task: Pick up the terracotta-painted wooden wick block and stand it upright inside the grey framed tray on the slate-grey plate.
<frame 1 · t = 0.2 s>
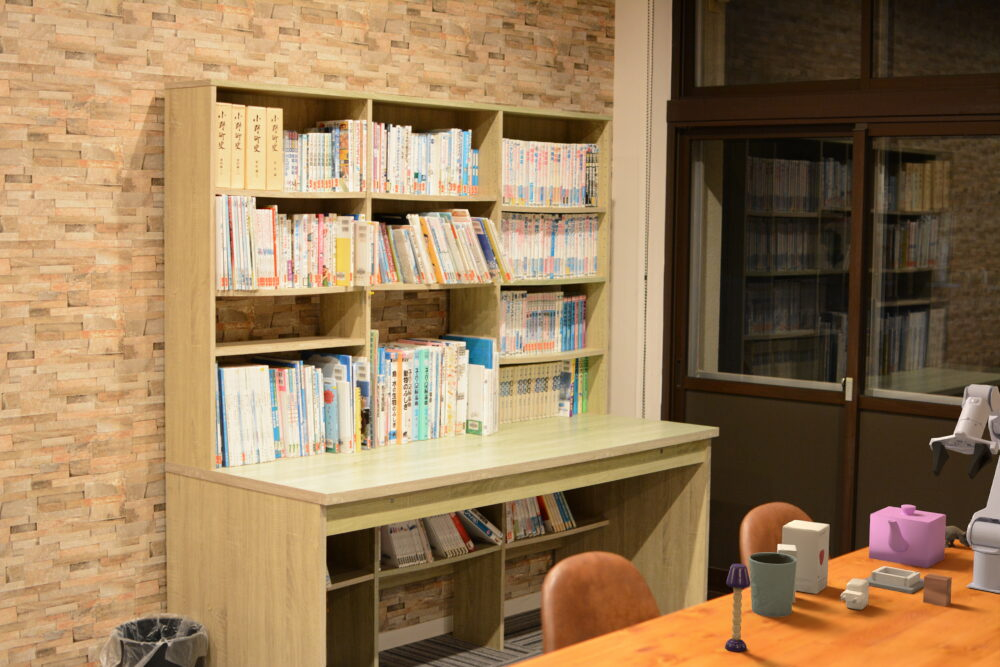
hand: (953, 475, 257), 31 cm above the table, tool tilted 45°, fingers open, 7 cm apart
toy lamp: (736, 648, 234), on the table
grey framed tray: (895, 583, 282), on the table
power adapter: (853, 610, 261), on the table
skincare box: (785, 599, 268), on the table
rhino figurine: (949, 547, 320), on the table
supplement box: (804, 588, 278), on the table
grey-green tapered cup: (771, 612, 258), on the table
wick block: (936, 602, 267), on the table
pink knobbed box: (905, 560, 306), on the table
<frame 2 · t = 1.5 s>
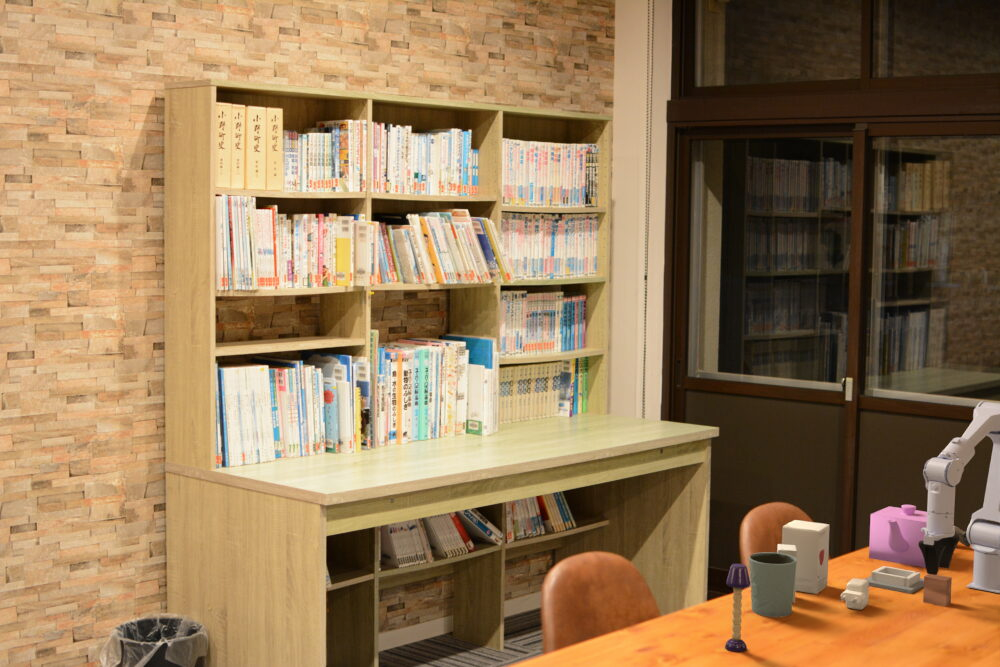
hand: (938, 570, 267), 7 cm above the table, tool pointing down, fingers open, 7 cm apart
nothing on the table moved.
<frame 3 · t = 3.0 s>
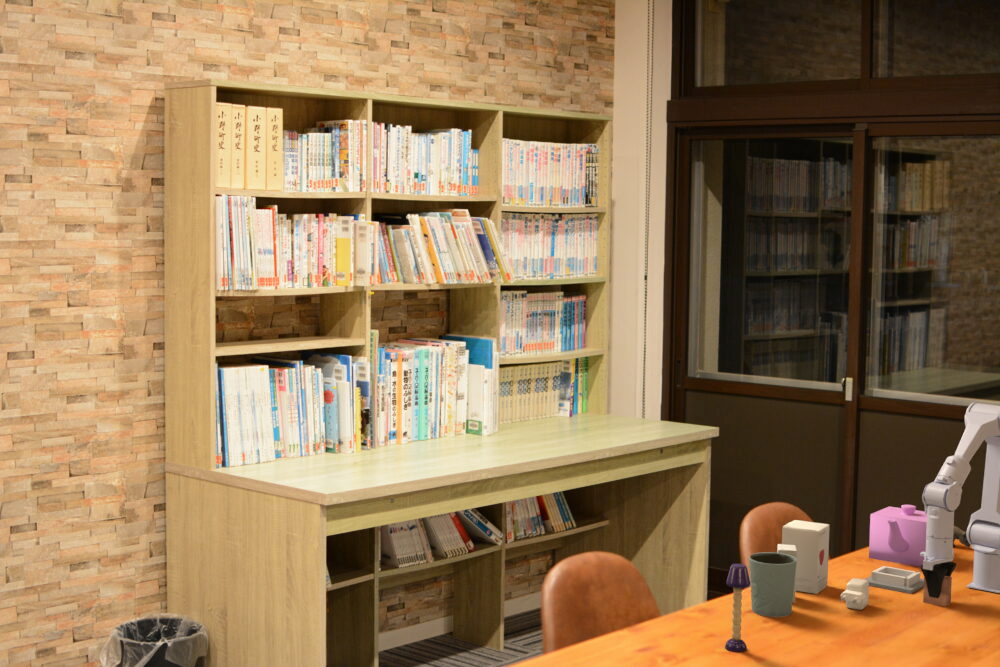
hand: (937, 595, 267), 2 cm above the table, tool pointing down, fingers closed on wick block, 3 cm apart
wick block: (936, 602, 267), on the table, touching gripper
everything else where it was.
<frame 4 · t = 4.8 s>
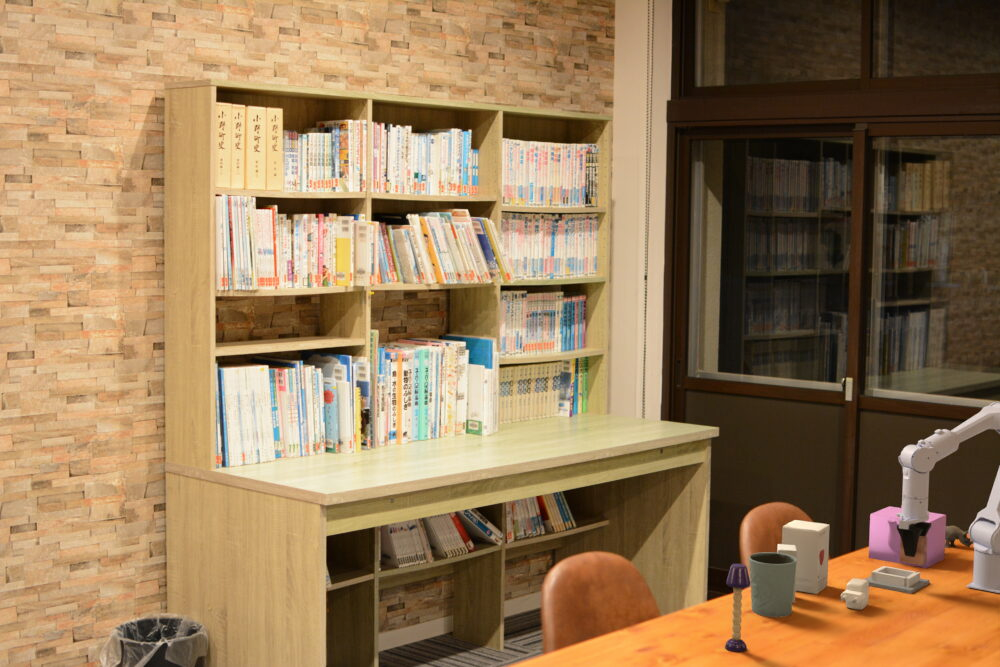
hand: (912, 554, 276), 9 cm above the table, tool pointing down, fingers closed on wick block, 3 cm apart
wick block: (913, 562, 276), point 7 cm above the table, touching gripper
everything else where it was.
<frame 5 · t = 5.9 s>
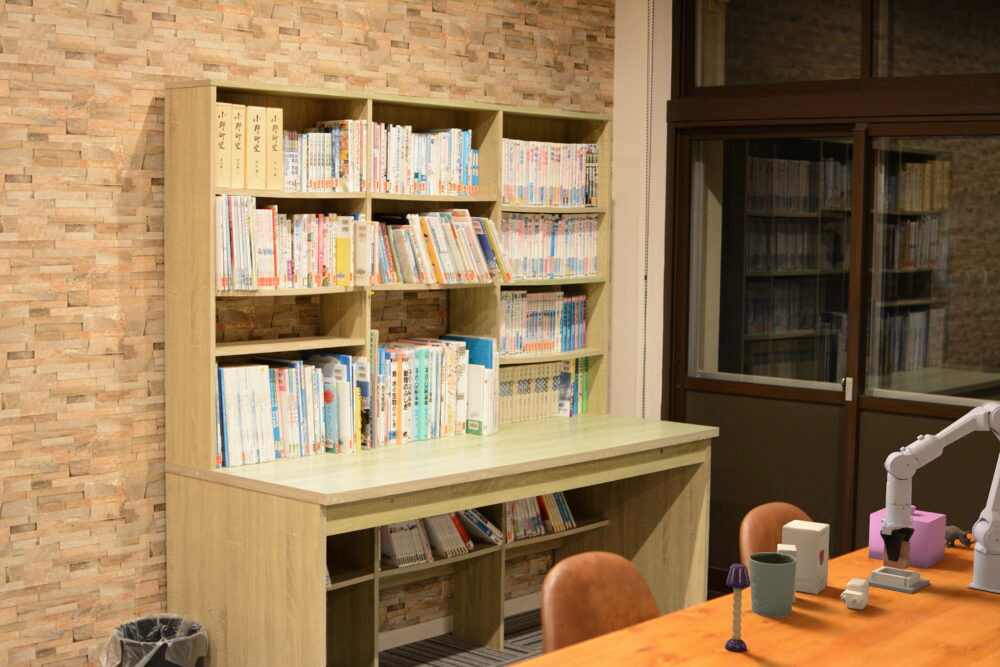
hand: (896, 559, 282), 6 cm above the table, tool pointing down, fingers closed on wick block, 3 cm apart
wick block: (896, 566, 282), point 4 cm above the table, touching gripper
everything else where it was.
when the fingers open (4 cm above the table, at t = 6.7 s): wick block drops 2 cm, resting on grey framed tray.
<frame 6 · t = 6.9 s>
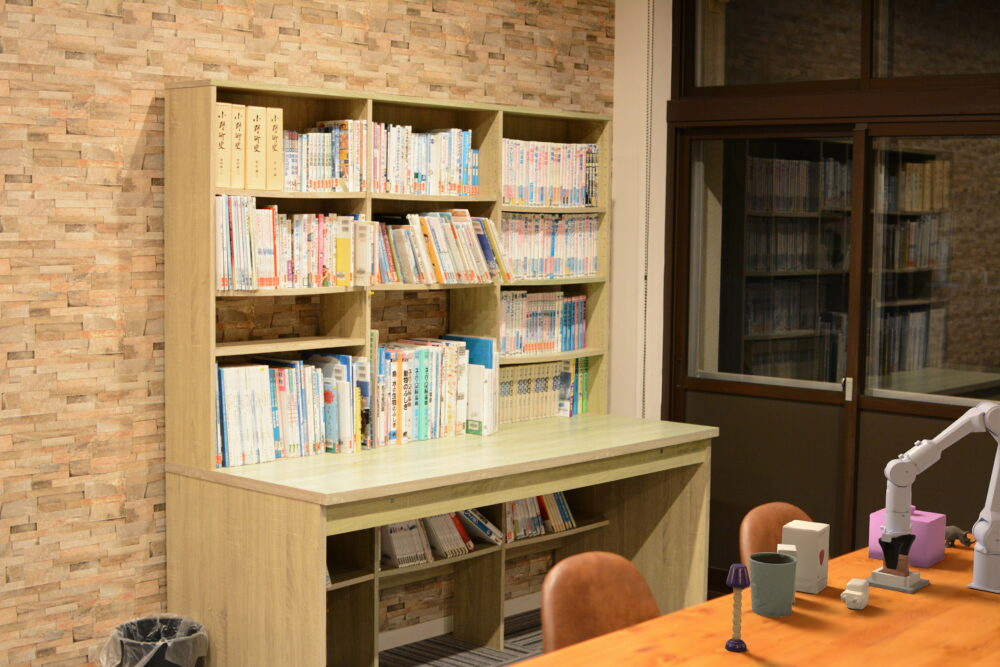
hand: (896, 566, 282), 4 cm above the table, tool pointing down, fingers open, 5 cm apart
wick block: (895, 580, 282), point 1 cm above the table, touching grey framed tray
everything else where it was.
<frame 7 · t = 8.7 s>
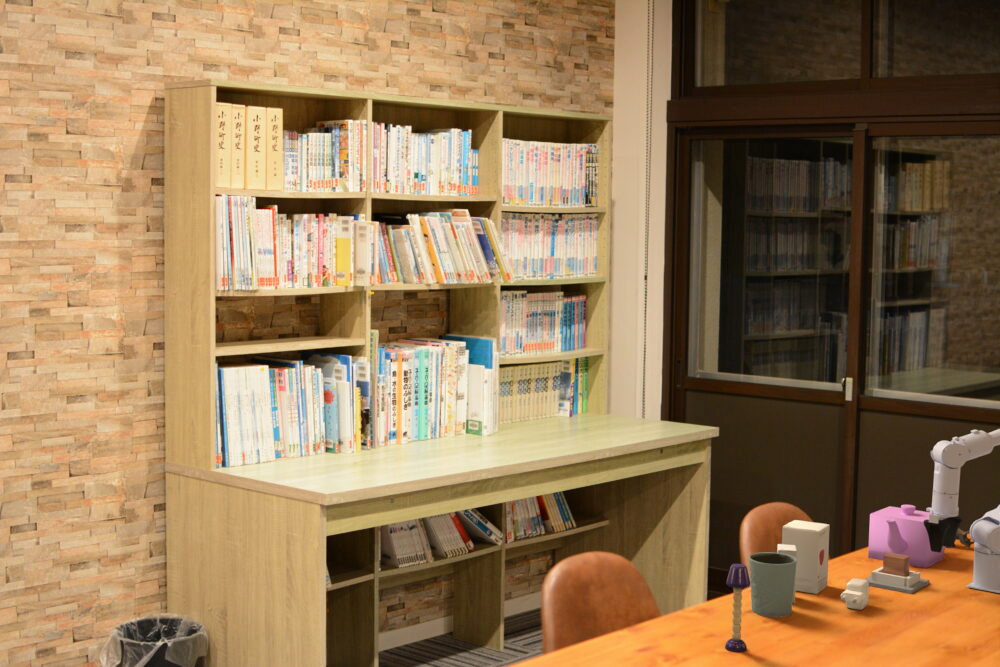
hand: (941, 549, 278), 9 cm above the table, tool pointing down, fingers open, 7 cm apart
nothing on the table moved.
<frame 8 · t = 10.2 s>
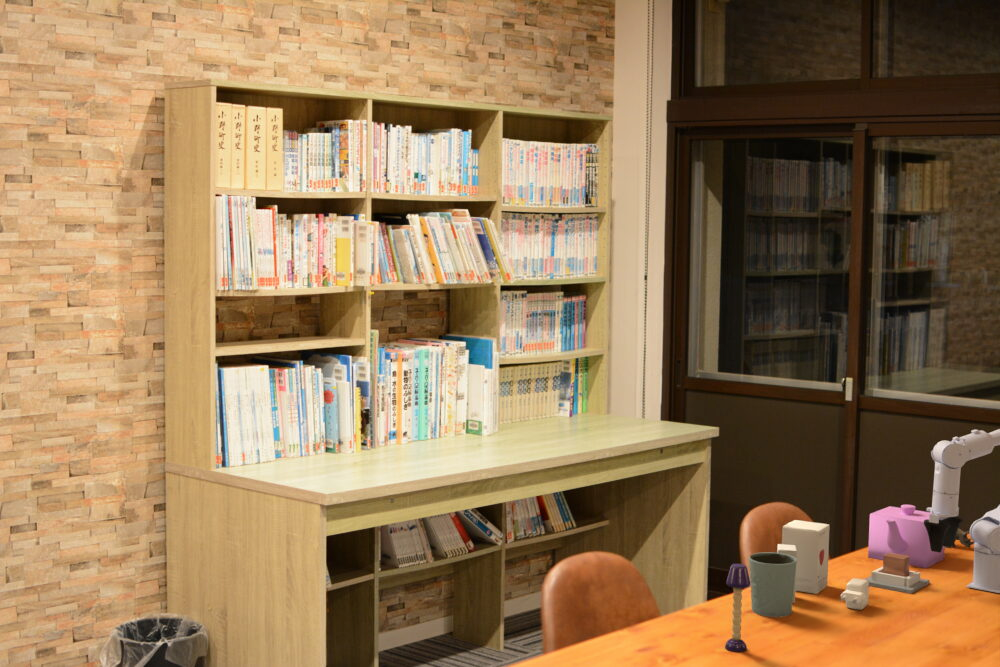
hand: (941, 549, 278), 9 cm above the table, tool pointing down, fingers open, 7 cm apart
nothing on the table moved.
at the end: wick block 0.1 cm off-centre on the grey framed tray, point 0.8 cm above the grey framed tray's base; wick block tilted 0°; the gripper is holding nothing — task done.
